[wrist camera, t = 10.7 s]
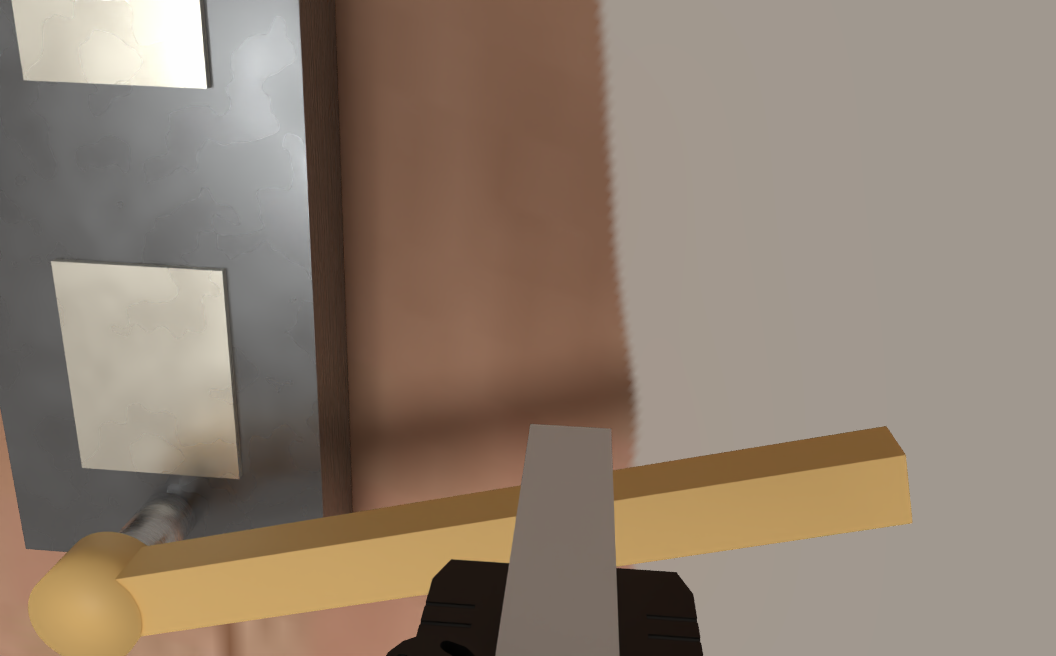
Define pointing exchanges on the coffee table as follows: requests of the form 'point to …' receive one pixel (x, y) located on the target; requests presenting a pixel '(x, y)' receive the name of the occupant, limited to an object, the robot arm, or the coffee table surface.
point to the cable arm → (459, 541)
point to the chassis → (171, 267)
